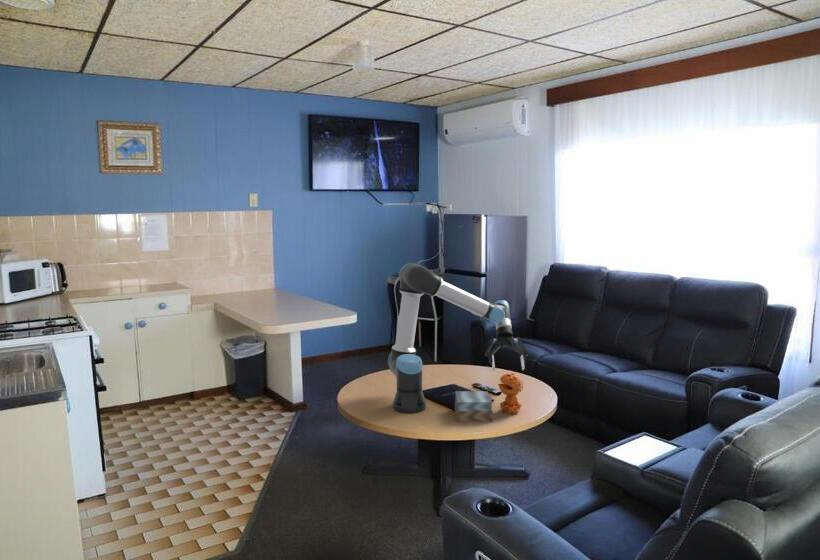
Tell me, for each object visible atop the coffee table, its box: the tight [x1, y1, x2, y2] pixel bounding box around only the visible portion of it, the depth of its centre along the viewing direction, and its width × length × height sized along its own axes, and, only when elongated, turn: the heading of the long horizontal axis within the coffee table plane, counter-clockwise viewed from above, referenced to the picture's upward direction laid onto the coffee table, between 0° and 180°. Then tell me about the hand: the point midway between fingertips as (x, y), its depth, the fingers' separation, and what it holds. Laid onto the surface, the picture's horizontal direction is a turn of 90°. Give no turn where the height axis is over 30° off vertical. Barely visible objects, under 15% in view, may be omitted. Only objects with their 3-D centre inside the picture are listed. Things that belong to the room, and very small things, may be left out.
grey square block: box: [454, 390, 493, 423], centre depth 259 cm, size 15×15×8 cm
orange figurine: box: [497, 372, 524, 415], centre depth 263 cm, size 11×11×18 cm
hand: (508, 368), depth 271 cm, fingers open, 13 cm apart
